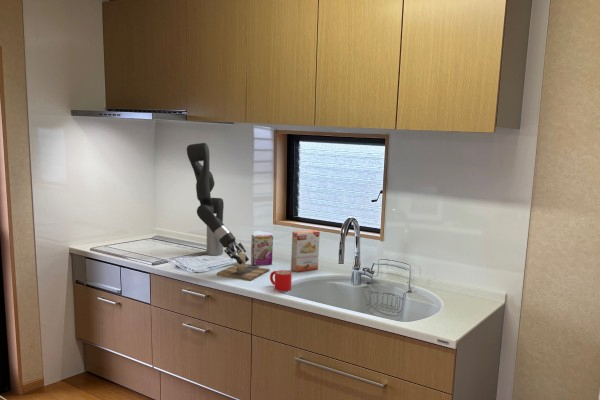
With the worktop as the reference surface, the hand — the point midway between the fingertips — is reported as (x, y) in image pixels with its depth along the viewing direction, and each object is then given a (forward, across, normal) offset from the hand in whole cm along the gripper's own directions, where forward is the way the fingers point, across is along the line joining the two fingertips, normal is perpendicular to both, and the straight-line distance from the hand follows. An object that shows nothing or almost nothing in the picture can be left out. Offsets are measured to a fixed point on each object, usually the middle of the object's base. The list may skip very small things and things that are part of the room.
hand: (244, 261), depth 269 cm
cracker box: (+21, +26, -10) cm, 35 cm away
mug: (+22, -9, -12) cm, 27 cm away
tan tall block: (+3, 0, +5) cm, 6 cm away
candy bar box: (+3, +24, +7) cm, 25 cm away
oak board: (+3, +4, +7) cm, 9 cm away
